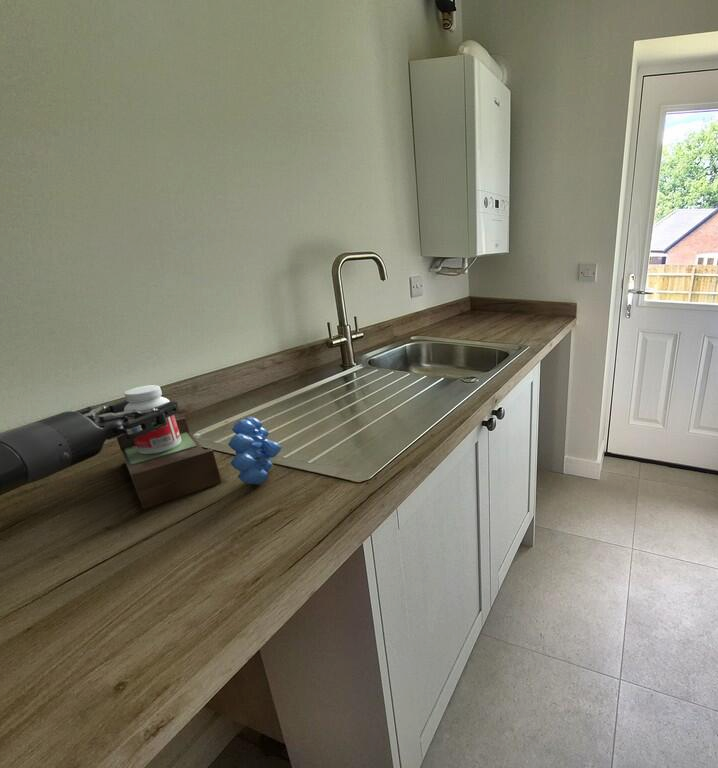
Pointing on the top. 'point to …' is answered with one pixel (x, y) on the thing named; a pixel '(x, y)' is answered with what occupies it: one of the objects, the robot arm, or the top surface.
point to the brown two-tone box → (170, 468)
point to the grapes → (252, 450)
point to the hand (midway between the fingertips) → (154, 405)
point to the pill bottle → (160, 437)
